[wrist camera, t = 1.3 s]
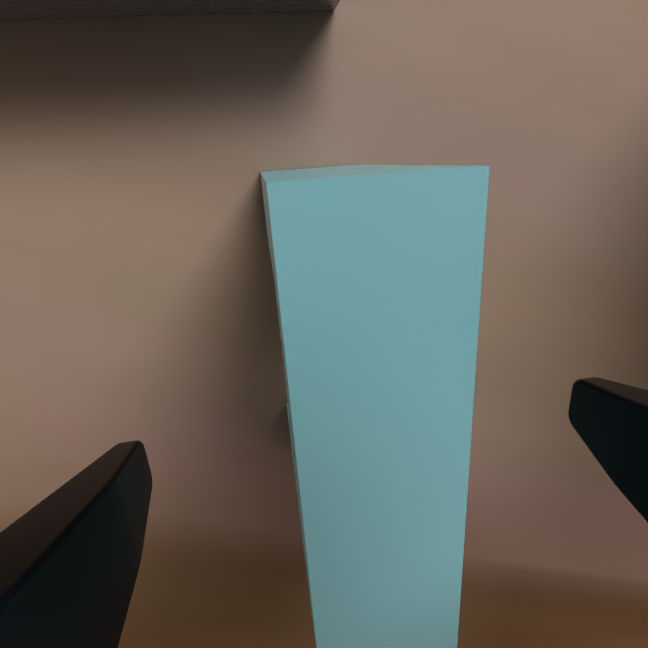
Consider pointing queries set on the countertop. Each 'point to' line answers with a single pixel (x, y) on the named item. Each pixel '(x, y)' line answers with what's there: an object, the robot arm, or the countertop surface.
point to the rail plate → (148, 7)
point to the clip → (380, 388)
